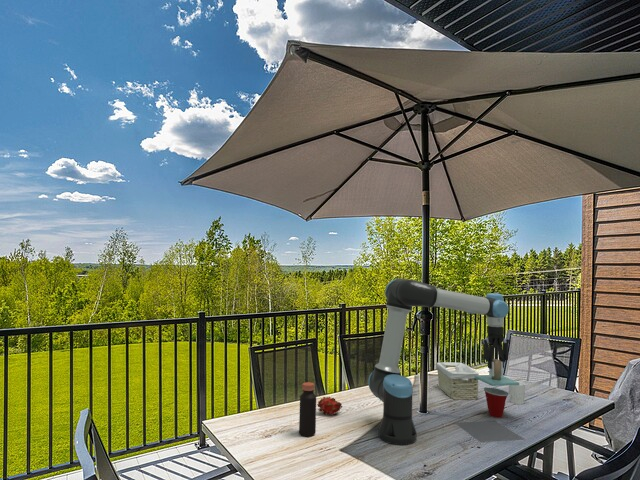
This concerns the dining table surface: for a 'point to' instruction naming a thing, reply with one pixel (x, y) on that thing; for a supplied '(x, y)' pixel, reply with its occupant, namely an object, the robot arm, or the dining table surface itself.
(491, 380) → the lid
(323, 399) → the dragon fruit
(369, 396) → the dining table surface
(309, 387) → the bottle
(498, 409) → the plastic cup
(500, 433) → the mat
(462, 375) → the storage basket
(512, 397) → the white cup
